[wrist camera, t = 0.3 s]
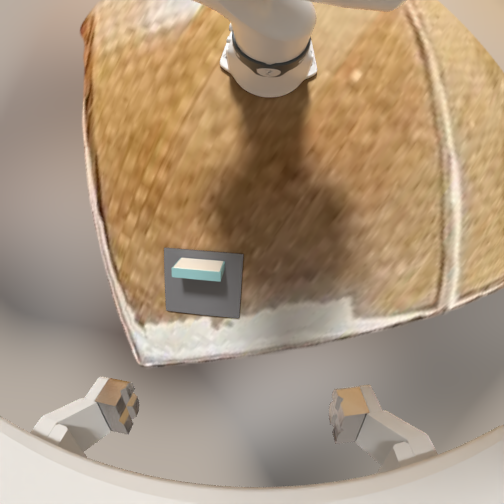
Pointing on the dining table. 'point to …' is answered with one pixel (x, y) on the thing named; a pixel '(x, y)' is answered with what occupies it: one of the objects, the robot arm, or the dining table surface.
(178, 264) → the box
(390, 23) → the dining table surface
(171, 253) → the mat
